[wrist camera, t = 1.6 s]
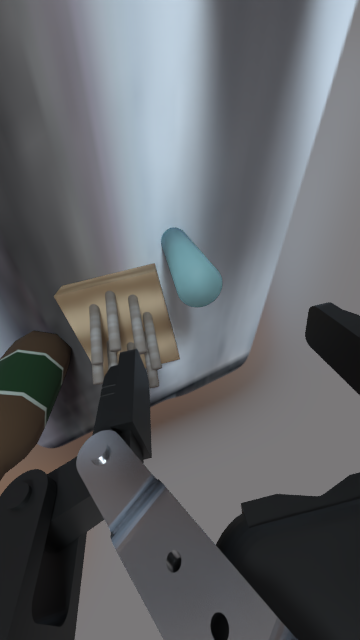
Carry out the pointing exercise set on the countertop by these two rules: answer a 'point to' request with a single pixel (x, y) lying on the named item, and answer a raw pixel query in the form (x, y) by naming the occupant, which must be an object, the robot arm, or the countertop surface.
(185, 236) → the peg
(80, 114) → the countertop surface
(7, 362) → the beer bottle
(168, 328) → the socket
